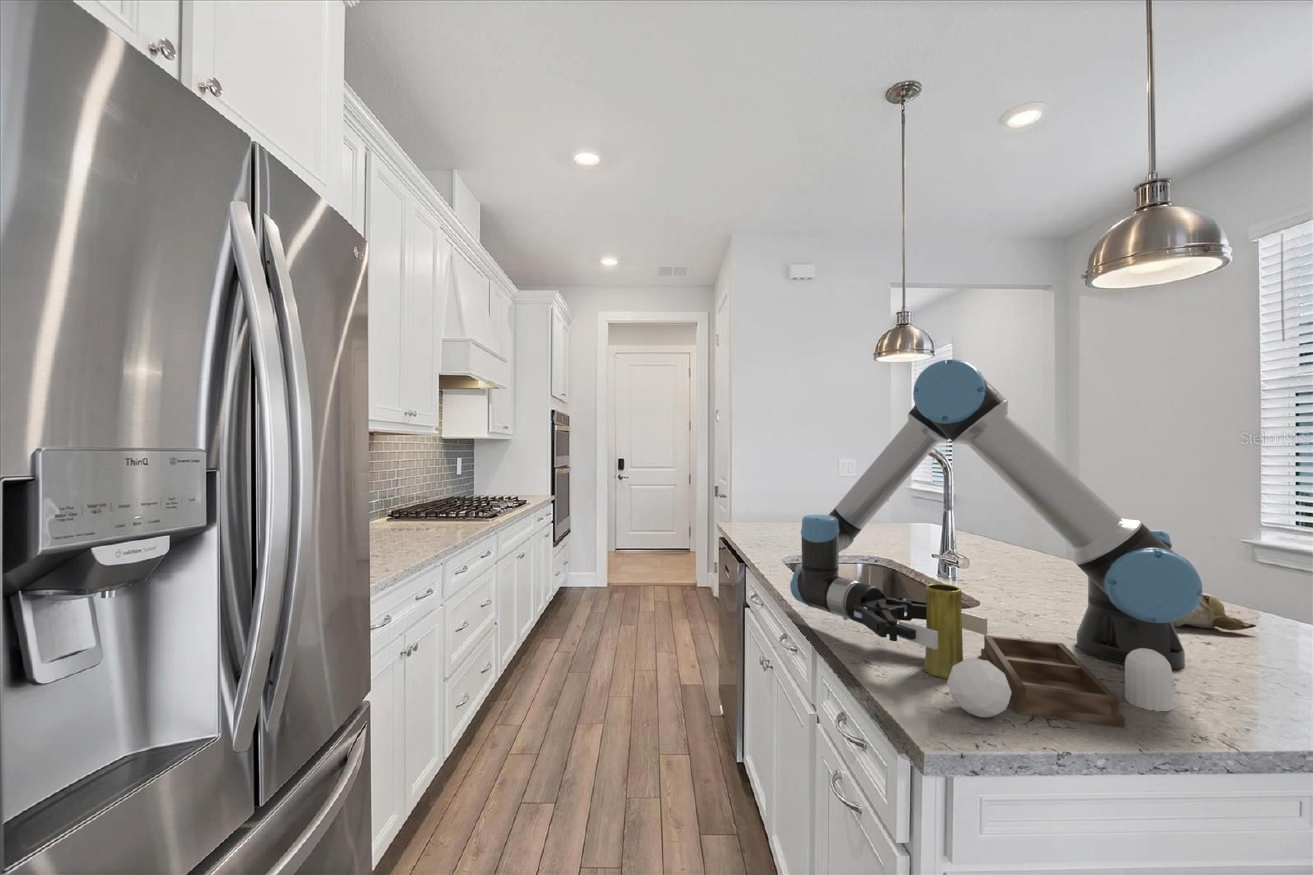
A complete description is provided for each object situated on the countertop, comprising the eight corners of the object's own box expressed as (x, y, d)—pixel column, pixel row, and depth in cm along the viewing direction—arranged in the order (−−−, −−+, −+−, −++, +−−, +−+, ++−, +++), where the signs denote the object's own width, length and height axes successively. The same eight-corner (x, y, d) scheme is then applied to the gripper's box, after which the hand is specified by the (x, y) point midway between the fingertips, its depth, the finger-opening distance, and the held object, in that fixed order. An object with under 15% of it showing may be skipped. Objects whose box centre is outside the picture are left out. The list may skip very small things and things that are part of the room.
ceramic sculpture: (1140, 577, 125) (1217, 584, 123) (1137, 616, 125) (1214, 623, 123) (1176, 590, 115) (1261, 598, 112) (1173, 632, 115) (1258, 641, 112)
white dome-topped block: (1181, 708, 82) (1180, 653, 82) (1158, 714, 80) (1158, 658, 80) (1138, 693, 87) (1138, 641, 87) (1116, 698, 85) (1116, 645, 85)
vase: (946, 682, 90) (946, 593, 90) (915, 668, 96) (915, 584, 96) (972, 676, 93) (972, 589, 93) (940, 663, 98) (940, 581, 98)
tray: (1066, 664, 98) (1065, 643, 98) (1124, 727, 76) (1124, 700, 76) (981, 655, 102) (981, 634, 102) (1013, 711, 80) (1013, 685, 81)
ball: (996, 736, 79) (1034, 704, 75) (945, 718, 78) (981, 684, 74) (976, 689, 85) (1010, 657, 82) (929, 672, 85) (961, 639, 81)
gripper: (898, 611, 116) (1004, 642, 98) (810, 631, 104) (913, 671, 85) (898, 575, 116) (1004, 599, 98) (810, 590, 104) (913, 622, 85)
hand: (962, 633), depth 92 cm, fingers open, 13 cm apart
